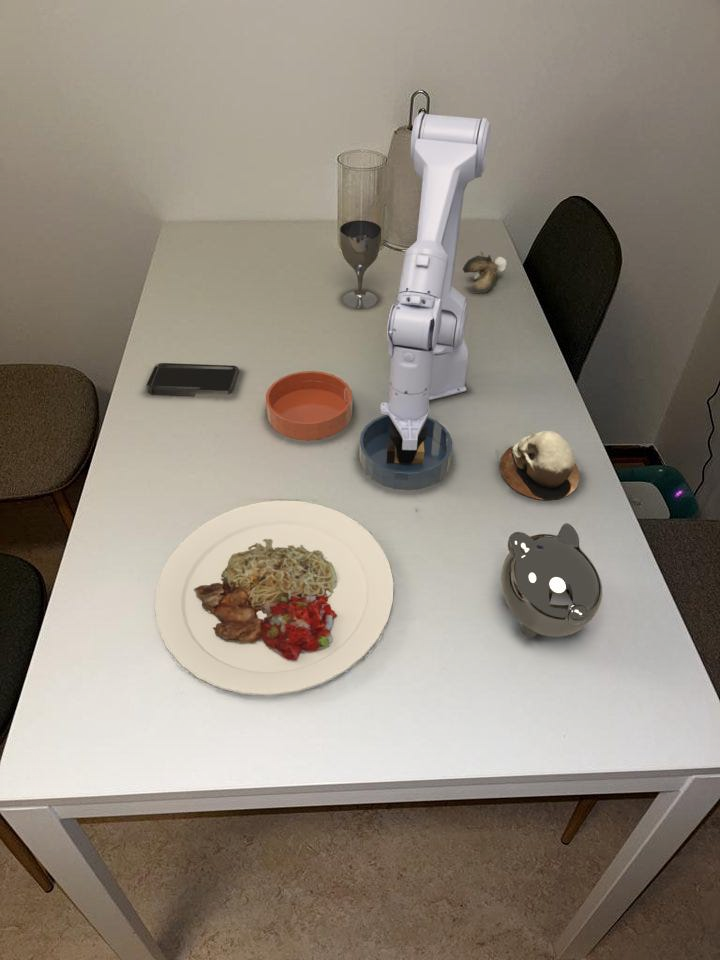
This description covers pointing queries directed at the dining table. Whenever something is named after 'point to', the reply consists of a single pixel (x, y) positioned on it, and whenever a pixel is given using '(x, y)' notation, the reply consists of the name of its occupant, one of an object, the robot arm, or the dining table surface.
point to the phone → (192, 379)
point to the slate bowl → (405, 473)
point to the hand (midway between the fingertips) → (405, 454)
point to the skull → (541, 466)
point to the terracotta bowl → (309, 405)
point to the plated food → (274, 597)
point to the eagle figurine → (484, 271)
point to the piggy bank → (550, 583)
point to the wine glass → (360, 257)
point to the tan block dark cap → (392, 453)
